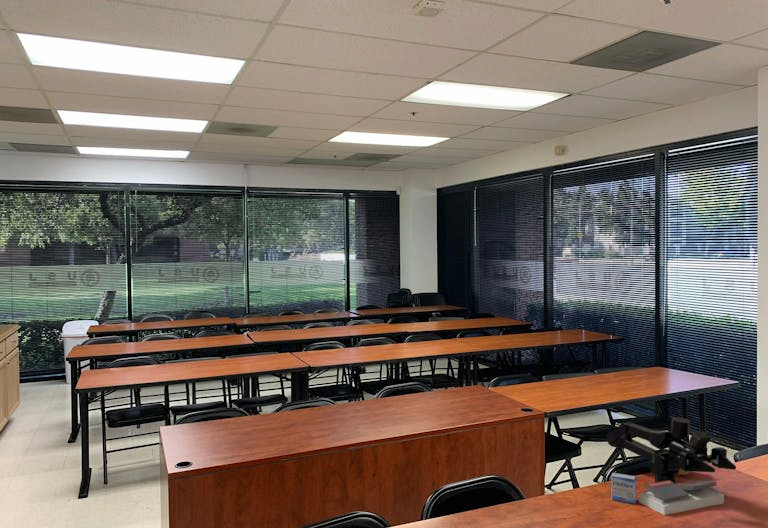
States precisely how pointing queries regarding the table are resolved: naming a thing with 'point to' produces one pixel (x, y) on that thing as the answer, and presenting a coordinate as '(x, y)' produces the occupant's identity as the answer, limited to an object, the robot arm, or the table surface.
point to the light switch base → (683, 501)
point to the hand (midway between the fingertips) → (725, 469)
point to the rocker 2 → (696, 485)
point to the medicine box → (623, 488)
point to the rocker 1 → (666, 491)
